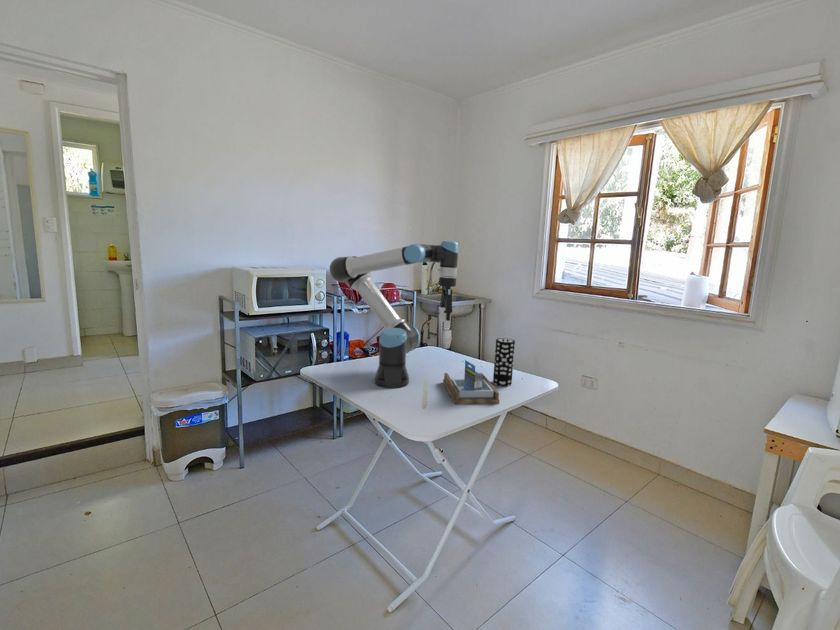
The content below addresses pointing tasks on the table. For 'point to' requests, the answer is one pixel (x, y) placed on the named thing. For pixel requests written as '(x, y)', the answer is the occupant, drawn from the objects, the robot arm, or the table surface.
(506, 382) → the spotted tube
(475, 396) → the shallow square tray
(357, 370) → the table surface
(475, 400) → the bay
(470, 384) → the label tape cartridge
